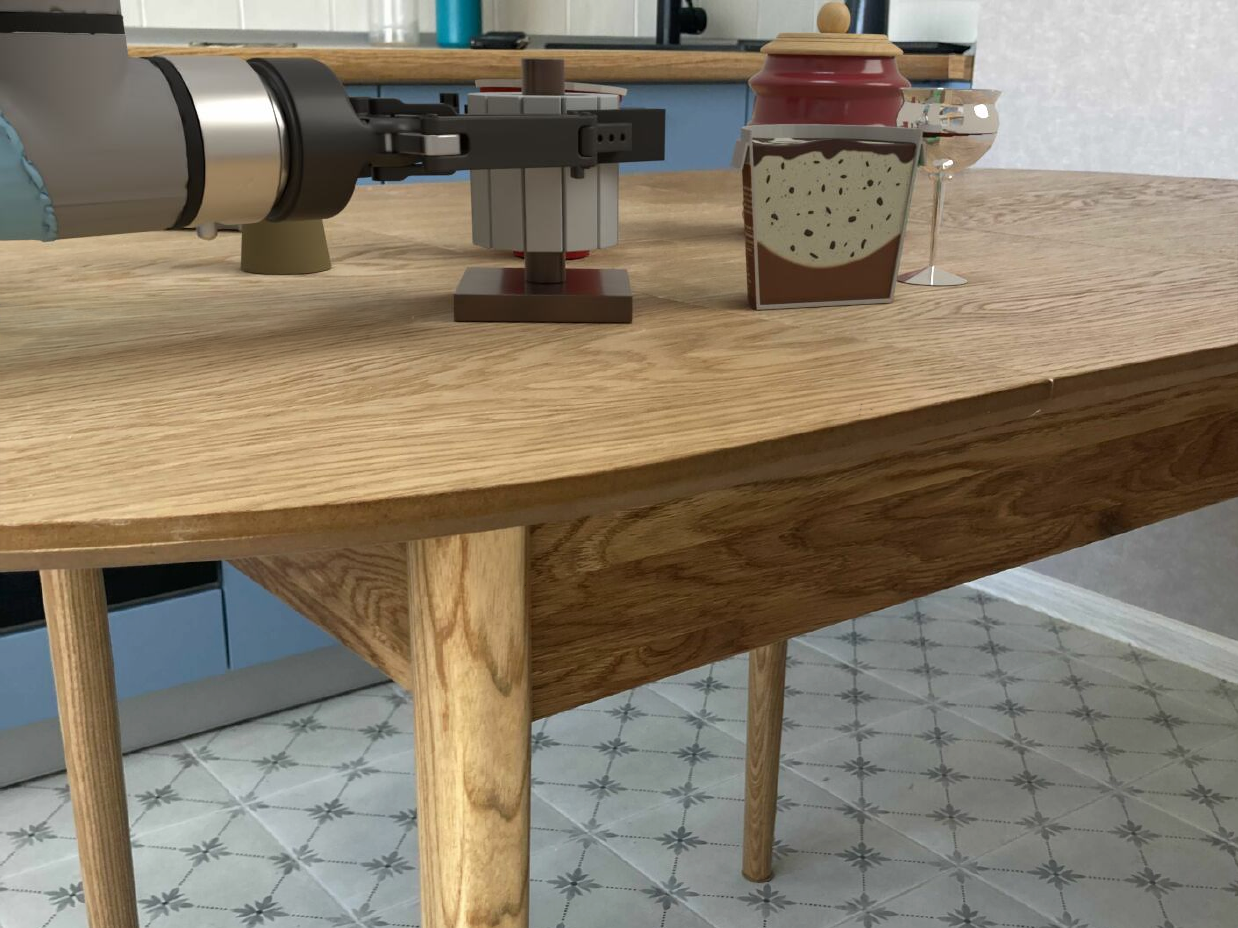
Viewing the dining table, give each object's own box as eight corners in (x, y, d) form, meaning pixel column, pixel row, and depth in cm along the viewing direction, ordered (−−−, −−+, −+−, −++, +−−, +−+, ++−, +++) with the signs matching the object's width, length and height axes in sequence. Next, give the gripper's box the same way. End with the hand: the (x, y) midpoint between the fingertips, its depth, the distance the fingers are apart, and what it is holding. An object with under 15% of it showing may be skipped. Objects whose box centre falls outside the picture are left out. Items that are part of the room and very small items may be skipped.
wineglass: (972, 290, 89) (995, 92, 84) (870, 282, 91) (887, 89, 86) (987, 276, 94) (1010, 90, 89) (891, 269, 97) (908, 87, 92)
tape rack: (454, 321, 76) (443, 57, 70) (467, 291, 85) (459, 56, 79) (632, 323, 76) (636, 61, 71) (626, 293, 85) (630, 59, 80)
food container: (864, 285, 89) (877, 123, 85) (913, 301, 84) (930, 129, 80) (692, 294, 85) (698, 124, 81) (733, 311, 80) (742, 130, 76)
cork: (301, 276, 89) (286, 95, 84) (222, 270, 91) (203, 93, 86) (348, 264, 94) (336, 93, 90) (272, 258, 96) (257, 91, 91)
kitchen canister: (898, 248, 107) (921, 0, 99) (734, 242, 108) (745, -3, 101) (895, 229, 118) (916, 5, 111) (747, 223, 120) (758, 3, 113)
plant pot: (468, 251, 75) (462, 95, 72) (478, 233, 83) (473, 91, 79) (619, 252, 75) (620, 97, 72) (616, 234, 83) (617, 93, 80)
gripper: (166, 205, 74) (498, 185, 88) (378, 245, 60) (735, 213, 74) (147, 55, 71) (494, 59, 85) (366, 59, 57) (740, 63, 71)
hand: (605, 131), depth 79 cm, fingers closed on plant pot, 9 cm apart
